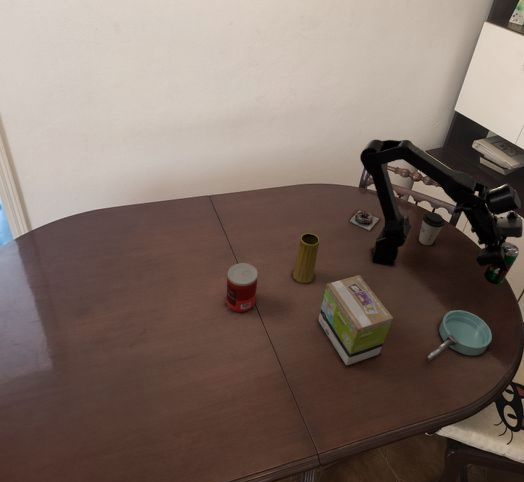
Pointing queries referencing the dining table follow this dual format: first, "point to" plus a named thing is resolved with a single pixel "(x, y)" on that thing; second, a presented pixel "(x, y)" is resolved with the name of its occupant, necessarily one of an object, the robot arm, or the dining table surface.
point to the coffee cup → (430, 228)
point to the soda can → (506, 264)
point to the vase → (306, 258)
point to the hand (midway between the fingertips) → (506, 264)
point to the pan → (466, 332)
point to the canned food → (241, 287)
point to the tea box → (354, 319)
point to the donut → (364, 220)
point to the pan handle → (442, 347)
